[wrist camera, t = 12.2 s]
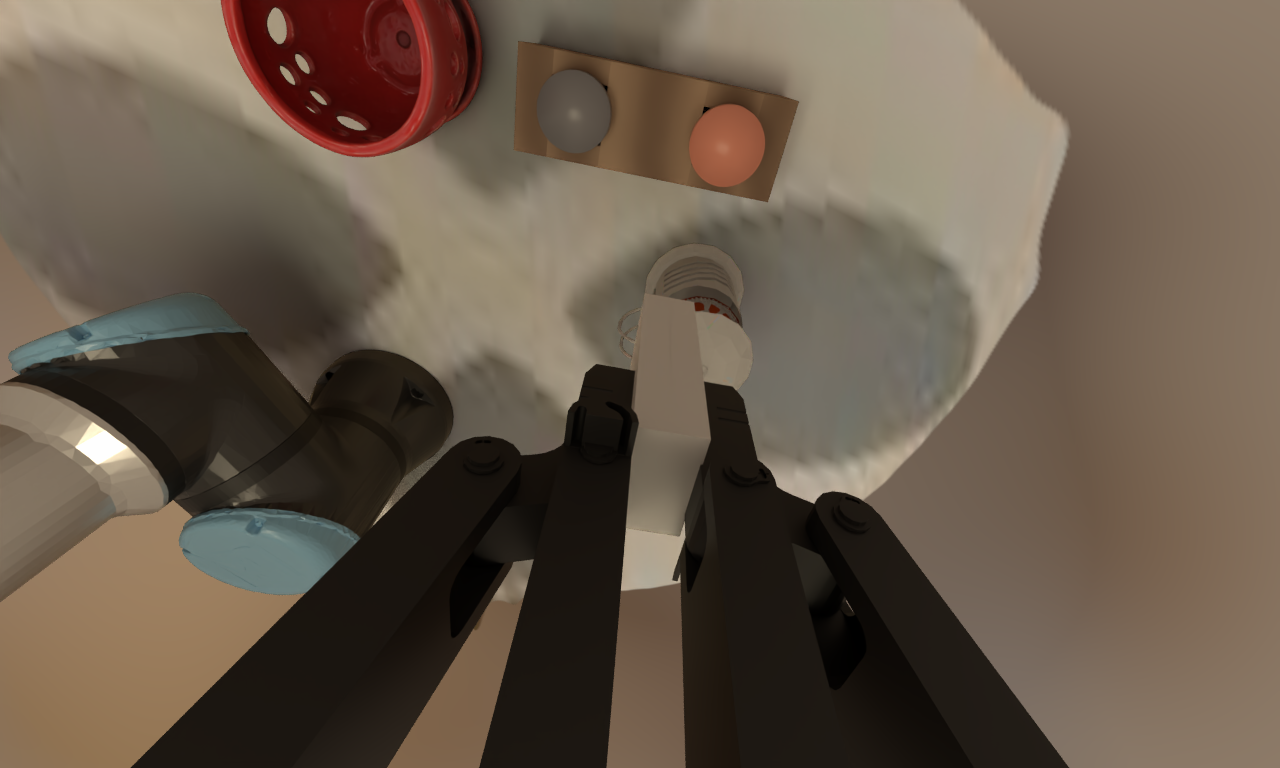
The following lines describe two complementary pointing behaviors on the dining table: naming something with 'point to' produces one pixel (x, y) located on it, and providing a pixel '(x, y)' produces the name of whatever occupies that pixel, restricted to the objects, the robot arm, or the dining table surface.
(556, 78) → the charcoal plug
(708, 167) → the red plug
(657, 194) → the dining table surface
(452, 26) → the plant pot
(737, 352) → the french press
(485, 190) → the dining table surface
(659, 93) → the socket block
